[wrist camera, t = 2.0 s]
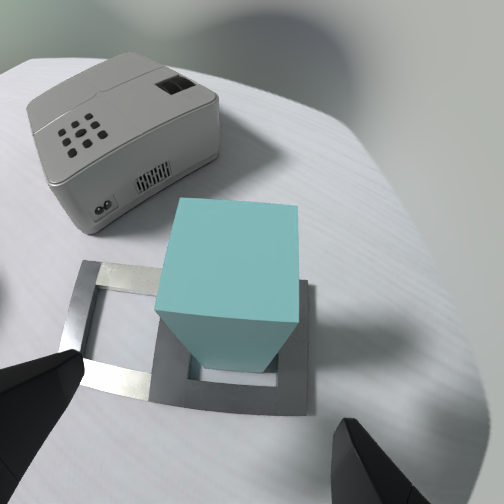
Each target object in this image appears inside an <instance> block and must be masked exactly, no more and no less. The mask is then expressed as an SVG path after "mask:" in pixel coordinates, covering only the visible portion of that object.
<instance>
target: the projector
mask: <svg viewBox="0 0 504 504" xmlns="http://www.w3.org/2000/svg"><path fill="white" fill-rule="evenodd" d="M26 110H27V114H28V118H29V123H30V127H31V131H32V135H33V138H34V142H35V146H36V149H37V153H38V156H39V159H40V162H41V166H42V169H43V172H44V175H45V178H46V181H47V184H48V185H49V187H50V189H51V190H52V192H53V193H54V195H55V196H56V198H57V200H58V201H59V203H60V204H61V206H62V207H63V209H64V210H65V211H66V213H67V214H68V216H69V217H70V219H71V220H72V222H73V223H74V224H75V226H76V227H77V228H78V229H80V230H81V231H82V232H83V233H85V234H93V233H96V232H98V231H99V230H100V229H102V228H103V227H105V226H106V225H108V224H109V223H111V222H112V221H114V220H115V219H117V218H118V217H120V216H121V215H123V214H124V213H126V212H127V211H129V210H130V209H132V208H133V207H135V206H136V205H138V204H139V203H141V202H143V201H144V200H146V199H147V198H149V197H151V196H152V195H154V194H155V193H157V192H159V191H160V190H162V189H164V188H165V187H167V186H169V185H170V184H172V183H174V182H175V181H177V180H179V179H180V178H182V177H184V176H186V175H187V174H189V173H191V172H193V171H194V170H196V169H198V168H200V167H202V166H203V165H205V164H207V163H209V162H211V161H212V160H214V159H215V158H217V156H218V154H219V149H220V125H219V97H218V95H217V94H216V93H215V92H213V91H211V90H209V89H207V88H206V87H204V86H202V85H200V84H198V83H196V82H195V81H193V80H191V79H189V78H187V77H185V76H183V75H181V74H179V73H177V72H175V71H173V70H171V69H169V68H167V67H165V66H163V65H161V64H159V63H157V62H155V61H153V60H151V59H149V58H146V57H144V56H142V55H140V54H138V53H135V52H127V53H123V54H121V55H118V56H116V57H114V58H111V59H109V60H106V61H104V62H102V63H100V64H97V65H95V66H93V67H91V68H89V69H87V70H85V71H83V72H81V73H79V74H77V75H75V76H73V77H71V78H69V79H67V80H65V81H64V82H62V83H60V84H58V85H56V86H55V87H53V88H51V89H49V90H48V91H46V92H44V93H43V94H41V95H40V96H38V97H36V98H35V99H33V100H32V101H31V102H30V103H29V104H28V106H27V108H26Z"/></svg>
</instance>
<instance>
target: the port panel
mask: <svg viewBox="0 0 504 504" xmlns="http://www.w3.org/2000/svg"><path fill="white" fill-rule="evenodd" d="M162 269H163V268H153V267H143V266H133V265H123V264H114V263H105V262H96V261H87V260H83V261H82V264H81V267H80V270H79V274H78V277H77V280H76V283H75V287H74V290H73V294H72V297H71V301H70V305H69V309H68V313H67V317H66V321H65V325H64V329H63V334H62V339H61V343H60V348H59V352H62V351H66V350H69V349H75V350H77V351H79V352H81V353H82V355H83V359H84V354H85V349H86V344H87V339H88V334H89V329H90V325H91V320H92V316H93V312H94V307H95V303H96V299H97V295H98V292H99V288H100V289H107V290H114V291H121V292H128V293H136V294H144V295H152V296H157V292H158V288H159V283H160V278H161V273H162ZM191 357H192V354H191V353H190V352H189V350H188V349H187V348H186V347H185V346H184V345H183V344H182V342H181V341H180V340H179V339H178V338H177V337H176V335H175V334H174V333H173V332H172V331H171V330H170V328H169V327H168V326H167V325H166V324H165V322H164V321H163V320H162V319H161V317H160V321H159V327H158V333H157V340H156V346H155V353H154V359H153V367H152V374H151V373H146V372H140V371H135V370H130V369H126V368H121V367H116V366H112V365H108V364H104V363H99V362H95V361H92V360H88V359H84V365H85V375H84V377H83V379H82V381H81V383H80V384H82V385H85V386H89V387H92V388H95V389H99V390H103V391H106V392H110V393H114V394H118V395H122V396H126V397H131V398H135V399H140V400H145V401H150V402H155V403H160V404H165V405H171V406H177V407H184V408H191V409H198V410H206V411H215V412H225V413H236V414H250V415H272V416H306V402H307V373H308V280H299V323H298V324H297V326H296V327H295V329H294V330H293V332H292V333H291V335H290V336H289V337H288V339H287V340H286V342H285V343H284V344H283V346H282V347H281V349H280V350H279V351H278V358H277V379H276V387H266V386H249V385H235V384H224V383H214V382H205V381H197V380H189V375H190V366H191Z"/></svg>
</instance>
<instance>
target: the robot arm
mask: <svg viewBox="0 0 504 504" xmlns="http://www.w3.org/2000/svg"><path fill="white" fill-rule="evenodd" d="M84 375H85V365H84V359H83V355H82V353H81V352H79V351H77V350H75V349H69V350H66V351H62V352H59V353H56V354H52V355H49V356H46V357H42V358H39V359H35V360H32V361H28V362H25V363H21V364H18V365H14V366H11V367H7V368H3V369H0V504H7V503H8V501H9V500H10V498H11V496H12V494H13V493H14V491H15V489H16V487H17V486H18V484H19V482H20V480H21V479H22V477H23V475H24V474H25V472H26V470H27V469H28V467H29V465H30V464H31V462H32V460H33V459H34V457H35V456H36V454H37V452H38V451H39V449H40V448H41V446H42V445H43V443H44V441H45V440H46V438H47V437H48V435H49V434H50V432H51V431H52V429H53V428H54V426H55V425H56V423H57V422H58V420H59V419H60V417H61V416H62V414H63V413H64V411H65V410H66V408H67V407H68V405H69V403H70V402H71V400H72V398H73V396H74V394H75V392H76V390H77V388H78V386H79V385H80V383H81V381H82V379H83V377H84ZM331 492H332V504H431V503H430V502H429V501H428V500H427V499H426V498H425V497H424V496H423V495H422V494H421V493H420V492H419V491H418V490H417V489H416V488H415V487H414V486H412V483H411V482H410V481H409V480H408V479H407V478H406V476H405V475H404V474H403V473H402V472H401V471H400V470H399V468H398V467H397V466H396V465H395V464H394V463H393V462H392V460H391V459H390V458H389V457H388V456H387V455H386V454H385V452H384V451H383V450H382V449H381V448H380V447H379V445H378V444H377V443H376V442H375V441H374V440H373V438H372V437H371V436H370V435H369V434H368V432H367V431H366V430H365V429H364V428H363V427H362V425H361V424H360V423H359V422H358V421H357V420H356V419H355V418H343V419H342V420H341V422H340V424H339V426H338V427H337V429H336V431H335V433H334V436H333V448H332V465H331Z"/></svg>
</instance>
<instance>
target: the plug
mask: <svg viewBox="0 0 504 504" xmlns="http://www.w3.org/2000/svg"><path fill="white" fill-rule="evenodd" d="M154 310H155V311H156V313H157V314H158V315H159V316H160V317H161V319H162V320H163V321H164V322H165V324H166V325H167V326H168V327H169V328H170V330H171V331H172V332H173V333H174V334H175V335H176V337H177V338H178V339H179V340H180V341H181V342H182V344H183V345H184V346H185V347H186V348H187V349H188V350H189V352H190V353H191V354H192V355H193V356H194V357H195V358H196V359H197V360H198V362H199V363H200V364H201V365H202V366H203V367H204V368H207V369H216V370H226V371H238V372H252V373H263V372H264V370H265V369H266V368H267V366H268V365H269V364H270V362H271V361H272V360H273V358H274V357H275V355H276V354H277V353H278V351H279V350H280V349H281V347H282V346H283V344H284V343H285V342H286V340H287V339H288V337H289V336H290V335H291V333H292V332H293V330H294V329H295V327H296V326H297V324H298V323H299V240H298V206H294V205H283V204H271V203H259V202H246V201H232V200H217V199H200V198H180V199H179V203H178V207H177V211H176V214H175V218H174V222H173V226H172V230H171V234H170V238H169V242H168V247H167V251H166V255H165V260H164V264H163V269H162V273H161V278H160V283H159V288H158V292H157V298H156V303H155V308H154Z"/></svg>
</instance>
